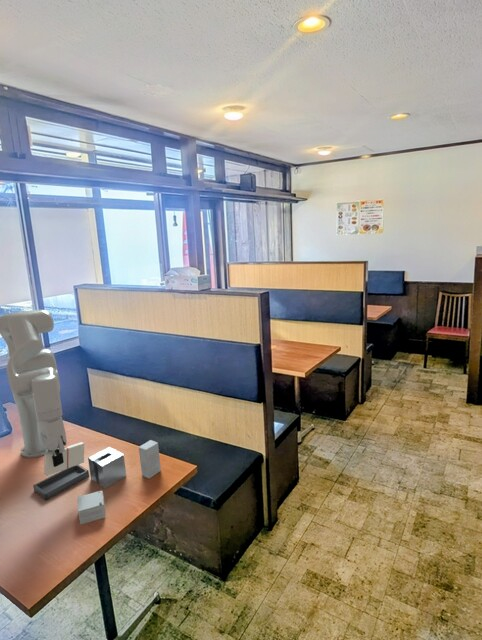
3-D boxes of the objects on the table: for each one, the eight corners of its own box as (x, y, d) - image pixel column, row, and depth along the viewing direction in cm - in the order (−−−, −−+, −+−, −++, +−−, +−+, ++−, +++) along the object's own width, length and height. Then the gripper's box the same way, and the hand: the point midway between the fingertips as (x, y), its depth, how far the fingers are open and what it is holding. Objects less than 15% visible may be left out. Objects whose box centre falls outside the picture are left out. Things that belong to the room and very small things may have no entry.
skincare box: (153, 467, 151) (150, 439, 148) (161, 471, 148) (158, 442, 146) (141, 475, 146) (138, 446, 143) (149, 479, 144) (146, 450, 141)
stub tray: (34, 491, 139) (33, 485, 139) (77, 468, 152) (76, 463, 151) (45, 500, 134) (44, 494, 134) (89, 476, 147) (88, 470, 146)
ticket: (44, 474, 127) (44, 453, 127) (81, 460, 138) (81, 441, 137) (46, 476, 126) (46, 455, 126) (84, 462, 137) (84, 443, 136)
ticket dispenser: (91, 479, 145) (88, 457, 143) (112, 467, 152) (109, 446, 150) (105, 488, 139) (102, 466, 137) (126, 475, 146) (123, 454, 144)
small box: (79, 509, 129) (77, 496, 128) (104, 502, 132) (102, 489, 131) (79, 525, 122) (77, 511, 121) (106, 518, 125) (104, 504, 124)
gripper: (26, 411, 127) (34, 461, 131) (49, 424, 118) (58, 477, 122) (48, 402, 133) (56, 451, 137) (73, 414, 124) (80, 466, 128)
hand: (57, 463), depth 130 cm, fingers closed on ticket, 1 cm apart
